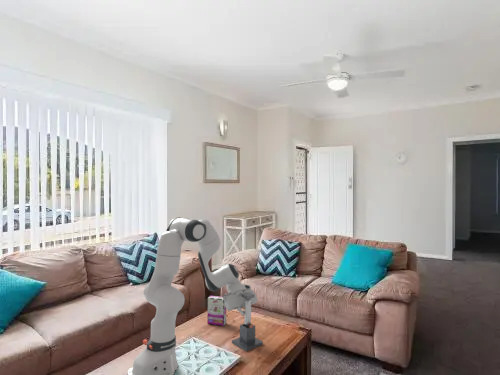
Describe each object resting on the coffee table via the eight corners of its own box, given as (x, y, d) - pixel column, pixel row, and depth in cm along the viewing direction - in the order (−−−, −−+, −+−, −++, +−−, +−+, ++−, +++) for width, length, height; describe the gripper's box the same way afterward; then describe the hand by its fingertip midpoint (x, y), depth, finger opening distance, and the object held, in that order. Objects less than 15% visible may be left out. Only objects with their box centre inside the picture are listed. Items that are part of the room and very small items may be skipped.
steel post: (246, 340, 173) (247, 296, 173) (240, 337, 177) (241, 293, 177) (253, 337, 176) (254, 294, 176) (248, 334, 180) (248, 292, 180)
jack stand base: (245, 351, 168) (246, 330, 168) (231, 342, 177) (232, 323, 177) (262, 344, 176) (263, 324, 176) (248, 336, 185) (248, 317, 185)
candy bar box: (226, 323, 203) (227, 296, 203) (223, 326, 198) (224, 299, 198) (210, 320, 206) (210, 295, 206) (207, 323, 202) (207, 297, 202)
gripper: (224, 291, 176) (234, 315, 169) (252, 284, 189) (263, 306, 182) (219, 297, 179) (229, 321, 172) (247, 290, 193) (258, 312, 185)
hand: (247, 313), depth 177 cm, fingers closed on steel post, 3 cm apart
